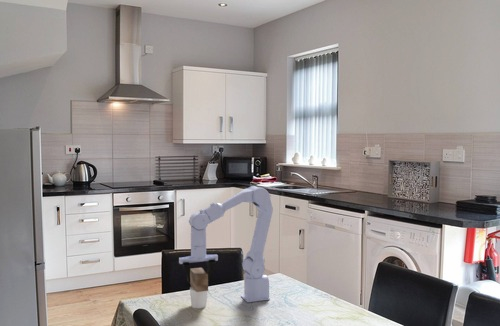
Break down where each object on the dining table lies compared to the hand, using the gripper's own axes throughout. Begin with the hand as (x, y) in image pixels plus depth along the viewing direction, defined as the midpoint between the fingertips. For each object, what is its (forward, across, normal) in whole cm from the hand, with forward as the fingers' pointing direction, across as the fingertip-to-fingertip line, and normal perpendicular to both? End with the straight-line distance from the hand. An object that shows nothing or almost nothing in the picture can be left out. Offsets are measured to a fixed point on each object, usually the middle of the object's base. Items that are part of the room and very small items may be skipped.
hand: (198, 280), depth 168 cm
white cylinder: (+10, 0, 0) cm, 10 cm away
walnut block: (+2, 0, 0) cm, 2 cm away
